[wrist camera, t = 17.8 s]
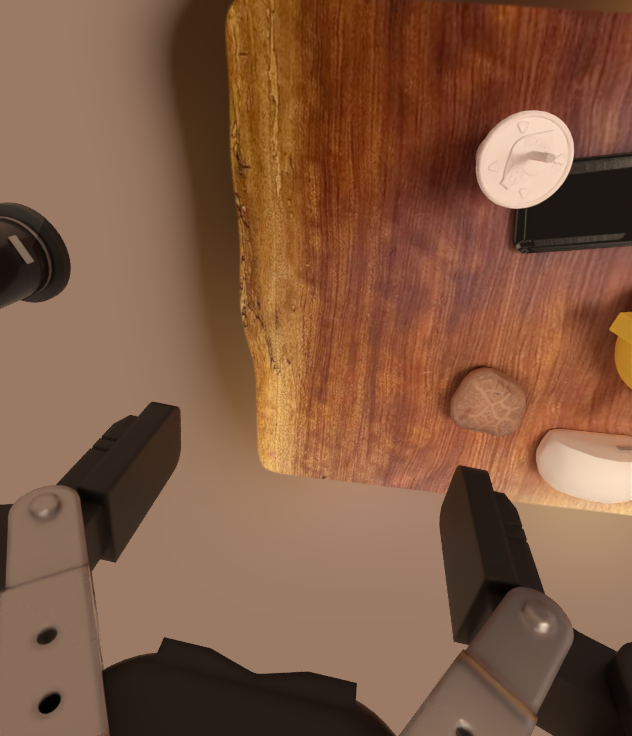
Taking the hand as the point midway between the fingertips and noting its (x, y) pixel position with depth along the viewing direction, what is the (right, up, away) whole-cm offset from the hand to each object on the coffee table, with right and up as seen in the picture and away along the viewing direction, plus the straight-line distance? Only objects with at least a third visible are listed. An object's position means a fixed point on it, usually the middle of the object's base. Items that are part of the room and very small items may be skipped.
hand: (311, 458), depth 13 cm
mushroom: (+19, 0, +39) cm, 43 cm away
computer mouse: (+33, -7, +40) cm, 52 cm away
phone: (+26, +18, +28) cm, 42 cm away
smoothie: (+16, +22, +27) cm, 39 cm away
